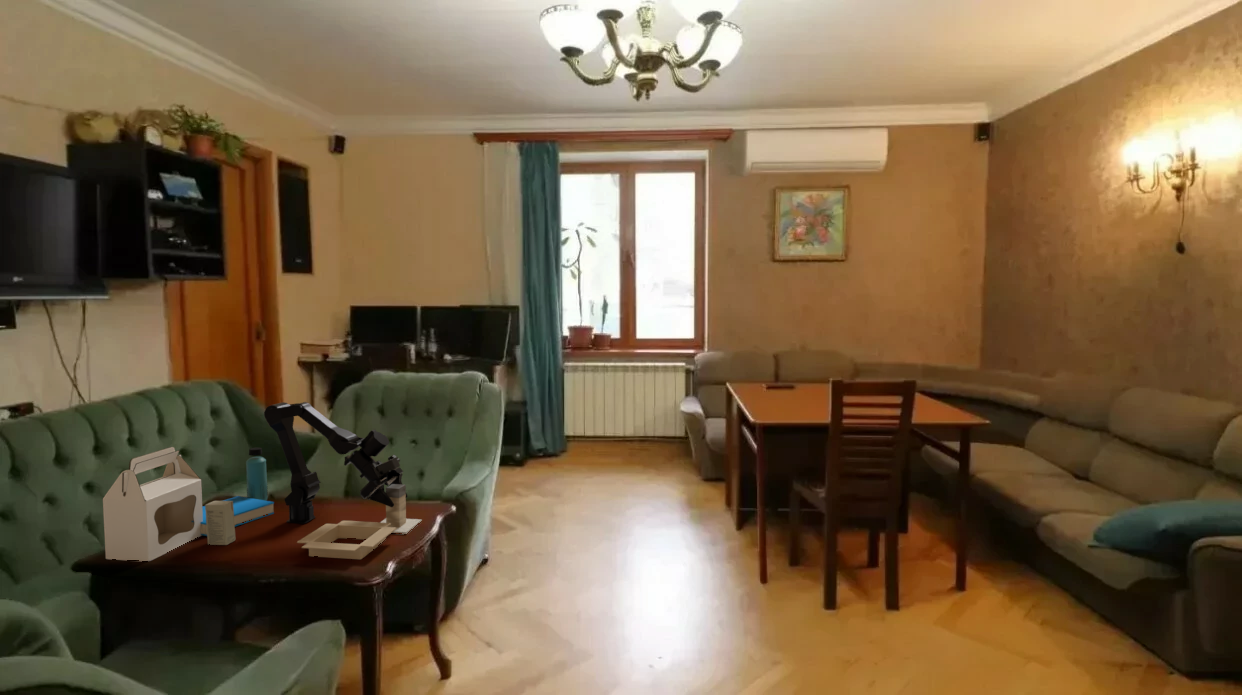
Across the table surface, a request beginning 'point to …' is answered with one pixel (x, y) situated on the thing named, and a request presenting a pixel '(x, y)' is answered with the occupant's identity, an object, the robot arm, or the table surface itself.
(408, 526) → the white square tile
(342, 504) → the table surface
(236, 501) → the book
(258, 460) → the beverage bottle
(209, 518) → the skincare box
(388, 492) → the capped block
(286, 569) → the table surface
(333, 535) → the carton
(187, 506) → the gable box
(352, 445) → the robot arm
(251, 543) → the table surface
